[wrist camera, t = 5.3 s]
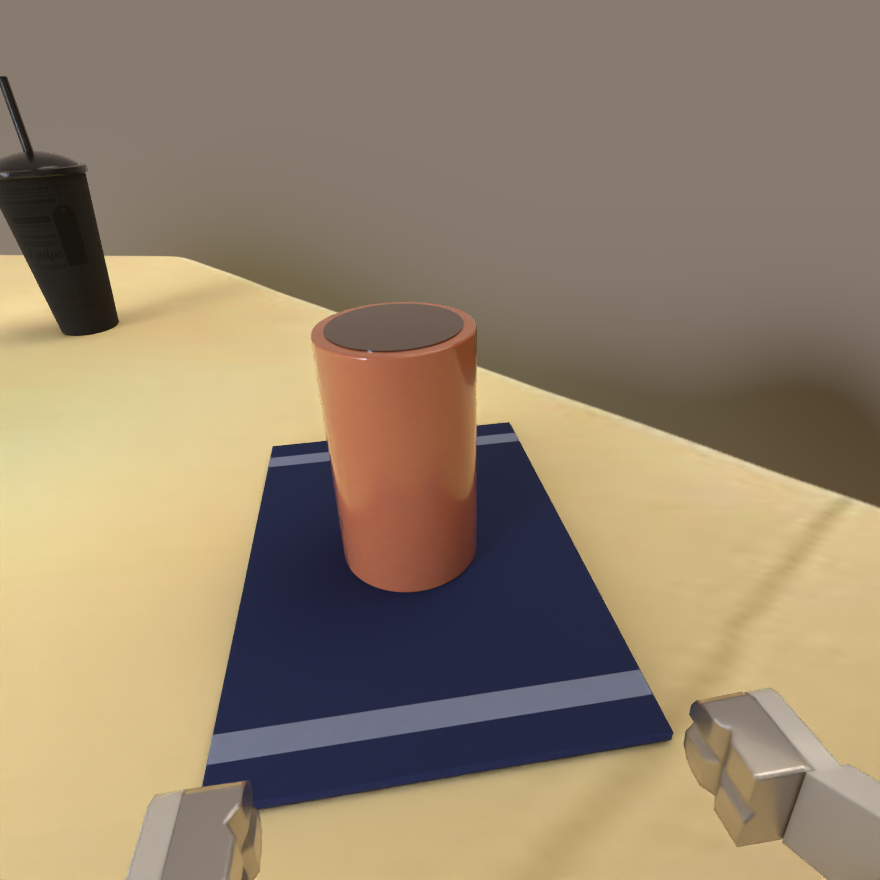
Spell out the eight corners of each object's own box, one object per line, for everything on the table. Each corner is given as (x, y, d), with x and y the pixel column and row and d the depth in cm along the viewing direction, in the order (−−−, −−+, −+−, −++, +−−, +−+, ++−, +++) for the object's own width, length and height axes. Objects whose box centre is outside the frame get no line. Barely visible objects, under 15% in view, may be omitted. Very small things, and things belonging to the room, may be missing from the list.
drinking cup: (147, 311, 57) (76, 77, 47) (114, 338, 51) (23, 72, 41) (70, 315, 57) (-18, 80, 47) (27, 342, 51) (-86, 76, 41)
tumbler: (447, 609, 22) (437, 366, 17) (318, 571, 24) (275, 344, 19) (494, 520, 26) (498, 307, 21) (382, 494, 28) (362, 294, 23)
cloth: (671, 740, 18) (673, 732, 17) (199, 819, 16) (195, 811, 16) (509, 427, 35) (509, 421, 34) (273, 451, 33) (272, 445, 33)
